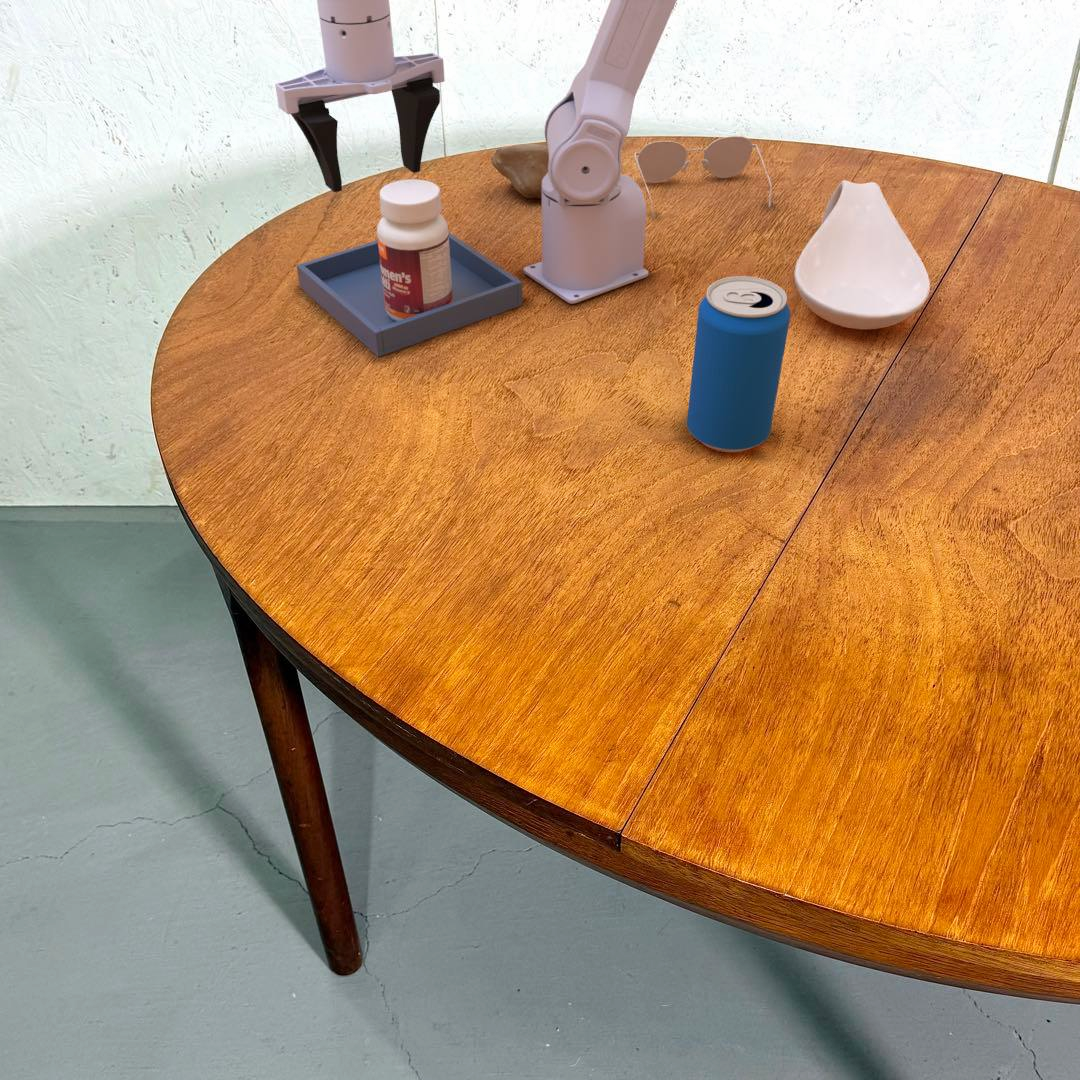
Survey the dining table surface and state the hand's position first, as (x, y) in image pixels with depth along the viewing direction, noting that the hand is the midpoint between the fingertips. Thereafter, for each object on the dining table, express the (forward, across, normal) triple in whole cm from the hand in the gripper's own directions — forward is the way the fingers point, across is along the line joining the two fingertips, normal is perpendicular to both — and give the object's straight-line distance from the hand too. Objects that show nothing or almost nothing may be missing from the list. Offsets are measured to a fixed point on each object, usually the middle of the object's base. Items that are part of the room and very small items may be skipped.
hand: (373, 178), depth 95 cm
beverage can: (+10, +12, -37) cm, 40 cm away
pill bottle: (+10, 0, -7) cm, 12 cm away
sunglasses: (+10, +38, -1) cm, 39 cm away
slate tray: (+10, +1, -4) cm, 11 cm away
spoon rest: (+10, +37, -24) cm, 45 cm away
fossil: (+10, +23, +9) cm, 27 cm away
